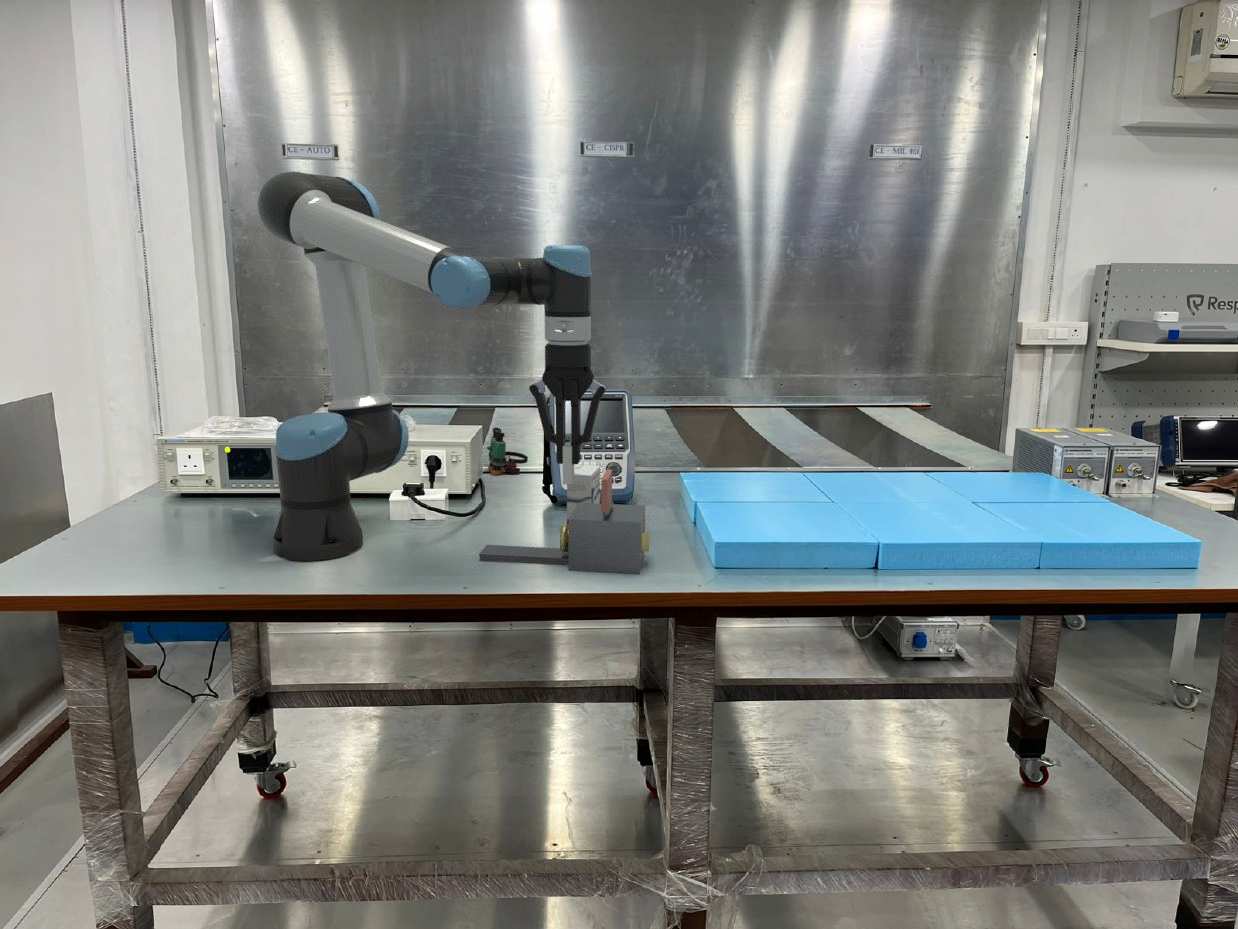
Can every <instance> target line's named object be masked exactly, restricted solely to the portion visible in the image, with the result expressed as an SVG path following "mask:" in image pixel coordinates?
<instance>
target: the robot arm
mask: <svg viewBox="0 0 1238 929" xmlns="http://www.w3.org/2000/svg"><path fill="white" fill-rule="evenodd" d="M257 208H258V210H257V211H258V214H259V218H260V219H261V222H262V224H263V225H264V227H265V228H266V229H267V230H268V232H269V233H271V234H272V235H273V236H274V237H277V238H278V239H279V240H282V241H285V242H288V243H290V244H293V245H296V246H298V247H299V248H302V249H303V252H304V257H305V259H307V260H309V261H310V262H311V263H312V264H313V265H314V267H315V275H316V281H317V286H318V288H317V289H318V293H319V299H320V300H319V301H320V308H321V313H322V322H323V327H324V335H325V341H326V347H327V355H328V362H329V369H330V376H331V381H332V388H333V396H334V397H333V399H332V400H331V402H329V404H328V405H327V412H312V413H311V414H302V415H297V416H294V417H291V418H289V419H286V420H285V421H283V422H282V423H281V424H280V425H279V426H278V427H277V429H276V431H275V432H276V433H275V443H276V444H275V447H274V451H275V455H276V466H277V475H278V477H277V478H278V484H279V485H278V487H279V495H280V496H279V498H280V512H279V515H278V519H277V524H276V527H275V530H274V535H273V538H272V545H273V554H275V555H276V556H277V557H279V558H282V559H286V560H289V561H290V560H291V561H298V562H299V561H300V562H302V561H305V562H308V561H309V562H312V561H324V560H325V561H326V560H331V559H336V558H341V557H344V556H346V555H351V554H353V553H355V552H357V551H359V550H360V549H361V548H362V547H363V545H364V534H363V533H364V532H363V529H362V527H361V525H360V522H359V520H358V518H357V514H356V512H355V510H354V508H353V505H352V503H351V486H350V482H352V481H354V480H356V479H359V478H364V477H366V476H369V475H372V474H378V473H381V472H384V471H386V470H387V469H389V468H392V467H393V466H395V465H396V464H398V463H399V462H400V461H401V460H402V459H403V457H405V454H406V453H407V449H408V447H409V441H410V437H409V436H410V434H409V429H408V425H407V423H406V421H405V419H404V418H402V417H401V415H400V413H399V412H397V411H396V410H394V409H393V403H392V399H391V398H390V397H389V396H387V395H386V394H385V393H384V392H383V390H382V381H381V376H380V366H379V361H378V355H377V354H378V353H377V347H376V340H375V332H374V324H373V317H372V310H371V303H370V294H369V289H368V280H367V273H366V267H367V268H370V269H372V270H374V271H377V272H379V273H382V274H385V275H387V276H389V277H392V278H394V279H397V280H399V281H402V282H405V283H406V284H410V285H412V286H415V287H417V288H419V289H422V290H424V291H427V292H429V293H432V294H434V296H435V297H436V299H437V300H438V301H439V302H440V303H441V304H442V305H444V306H446V307H449V308H455V309H456V308H457V309H461V310H468V309H473V308H482V307H491V306H492V307H493V306H508V305H509V306H510V305H537V306H542V305H543V308H544V339H545V340H546V341H547V342H548V343H546V344H545V345H544V372H543V373H542V376H541V379H540V380H538V381H537V382H535V383H534V382H533V384H530V386H529V388H528V389H529V392H530V393H531V395H532V396H533V398H534V399H535V403H536V408H537V411H538V415H539V419H540V422H541V427H542V431H543V434H544V439H545V440H546V442H549V443H553V444H554V445H555V446H556V462H557V464H558V465H562V485H567V484H571V485H572V483H573V482H574V466H575V465H576V464H580V461H581V445H583V444H586V443H589V441H590V440H591V438H592V435H593V431H594V427H595V423H596V419H597V414H598V411H599V407H600V403H601V402H600V401H601V399H602V397H603V396H604V394H605V393H606V391H607V390H608V388H607V385H605V384H602V383H599V382H598V381H597V380H595V376H594V374H593V372H592V365H591V364H592V358H591V356H592V351H591V350H592V346H591V345H590V344H589V343H588V342H589V341H590V340H591V339H592V330H591V329H592V316H591V314H592V312H591V300H592V299H591V298H592V297H591V296H592V295H591V294H592V292H591V291H592V290H591V288H592V276H593V274H592V269H591V253H590V250H589V249H588V247H586V246H585V245H578V244H577V245H574V244H571V245H570V244H565V245H564V244H562V245H561V244H557V245H555V244H554V245H546V246H545V247H544V249H543V254H542V257H536V258H535V257H534V258H533V257H506V256H500V257H499V256H493V257H491V256H490V257H489V256H486V257H485V256H475V255H471V254H468V253H467V252H466V253H465V252H463V251H461V250H458V249H455V248H452V247H450V246H447V245H445V244H443V243H440V242H437V241H434V240H433V239H430V238H427V237H425V236H422V235H419V234H417V233H414V232H412V231H409V230H406V229H404V228H401V227H398V226H395V225H392V224H390V223H388V222H385V221H382V220H381V218H380V210H379V207H378V204H377V202H376V199H375V197H374V196H373V195H372V193H371V192H370V191H369V189H367V188H366V187H365V186H364V185H362V184H360V183H359V182H357V181H354V180H350V179H347V178H344V177H341V176H331V175H329V176H328V175H321V174H313V173H305V172H301V171H286V172H280V173H278V174H276V175H274V176H272V177H271V178H270V179H268V180H267V181H266V182H265V184H263V185H262V188H261V190H260V192H259V195H258V199H257ZM590 387H591V389H590V390H591V391H590V392H591V395H592V398H591V401H590V404H589V409H588V412H587V418H586V421H585V424H584V430H583V433H582V431H581V430H582V429H581V425H582V424H581V420H582V419H581V414H582V413H581V410H582V409H581V403H582V397H583V396H584V395H585V393H586V392H587V390H588V389H589V388H590ZM546 388H547V389H548V391H549V392H550V393H551V395H552V396H553V397H554V398H555V399H554V400H555V401H554V403H555V430H554V426H553V422H552V418H551V414H550V410H549V405H548V402H547V397H546V395H545V394H546V393H545V392H546ZM567 400H570V411H571V413H570V415H571V416H570V417H571V418H570V420H571V422H570V426H571V428H570V433H571V434H570V435H571V436H570V437H571V442H569V443H567V442H566V440H567V438H566V401H567ZM581 433H582V434H581Z"/></svg>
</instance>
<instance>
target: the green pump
mask: <svg viewBox="0 0 1238 929" xmlns="http://www.w3.org/2000/svg"><path fill="white" fill-rule="evenodd" d="M492 433H493V434H492V435H493V436H491V438H490V446H487V448H486V450H487V451H489V452H488V461H489V464H488V465H487V470H488V471H490V475H493V476H496V475H501V474H502V473H510V474H516V475H517V474H518V475H519V474H520V473H521V468H520V467H517V465H518V464H521V465H522V464H526V463H528V458H529V457H528V456H527V455H525V454H523V453H520V452H515V451H509V450H507V451H506V446H507V443H506V441H504V440H503V439H504V437H505V432H502V429H501V428H499V427H493V428H492ZM511 457H517V458H519V459H516V458H511ZM507 458H508V459H507Z"/></svg>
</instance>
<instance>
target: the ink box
mask: <svg viewBox="0 0 1238 929" xmlns="http://www.w3.org/2000/svg"><path fill="white" fill-rule="evenodd" d="M577 503H597V504H601V465H592V464H584V463H583V464H582V463H578V464H574V482H573V483H572V485H571V484H566V524H569V518H570V516H571V514H572V512H573V511H574V509H575V507H576V505H577Z"/></svg>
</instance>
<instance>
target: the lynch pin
mask: <svg viewBox="0 0 1238 929" xmlns="http://www.w3.org/2000/svg"><path fill="white" fill-rule="evenodd" d="M650 534H651V532H645V533H644V532H642V551H644V552H650V538H651V536H650ZM559 535H560V536H559V548H560V550H561V552H568V550H569V524H567V523H563V524H562V525H561V528H560V534H559Z"/></svg>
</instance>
